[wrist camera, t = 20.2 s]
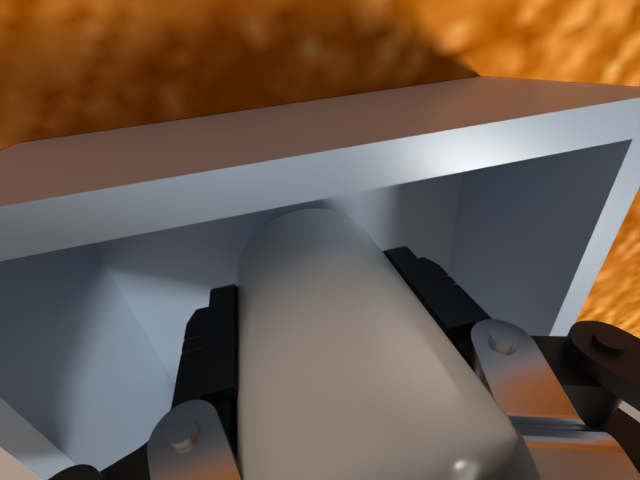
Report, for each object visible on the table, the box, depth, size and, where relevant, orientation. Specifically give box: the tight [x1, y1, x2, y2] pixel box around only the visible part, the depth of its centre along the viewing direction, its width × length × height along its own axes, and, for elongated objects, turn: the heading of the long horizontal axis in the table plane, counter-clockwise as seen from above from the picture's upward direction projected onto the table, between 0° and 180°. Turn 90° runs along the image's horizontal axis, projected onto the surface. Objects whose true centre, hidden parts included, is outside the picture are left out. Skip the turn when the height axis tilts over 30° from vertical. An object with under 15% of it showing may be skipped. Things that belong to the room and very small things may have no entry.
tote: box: [0, 76, 640, 480], centre depth 13 cm, size 22×15×6 cm
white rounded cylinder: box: [237, 208, 519, 480], centre depth 8 cm, size 5×5×7 cm
